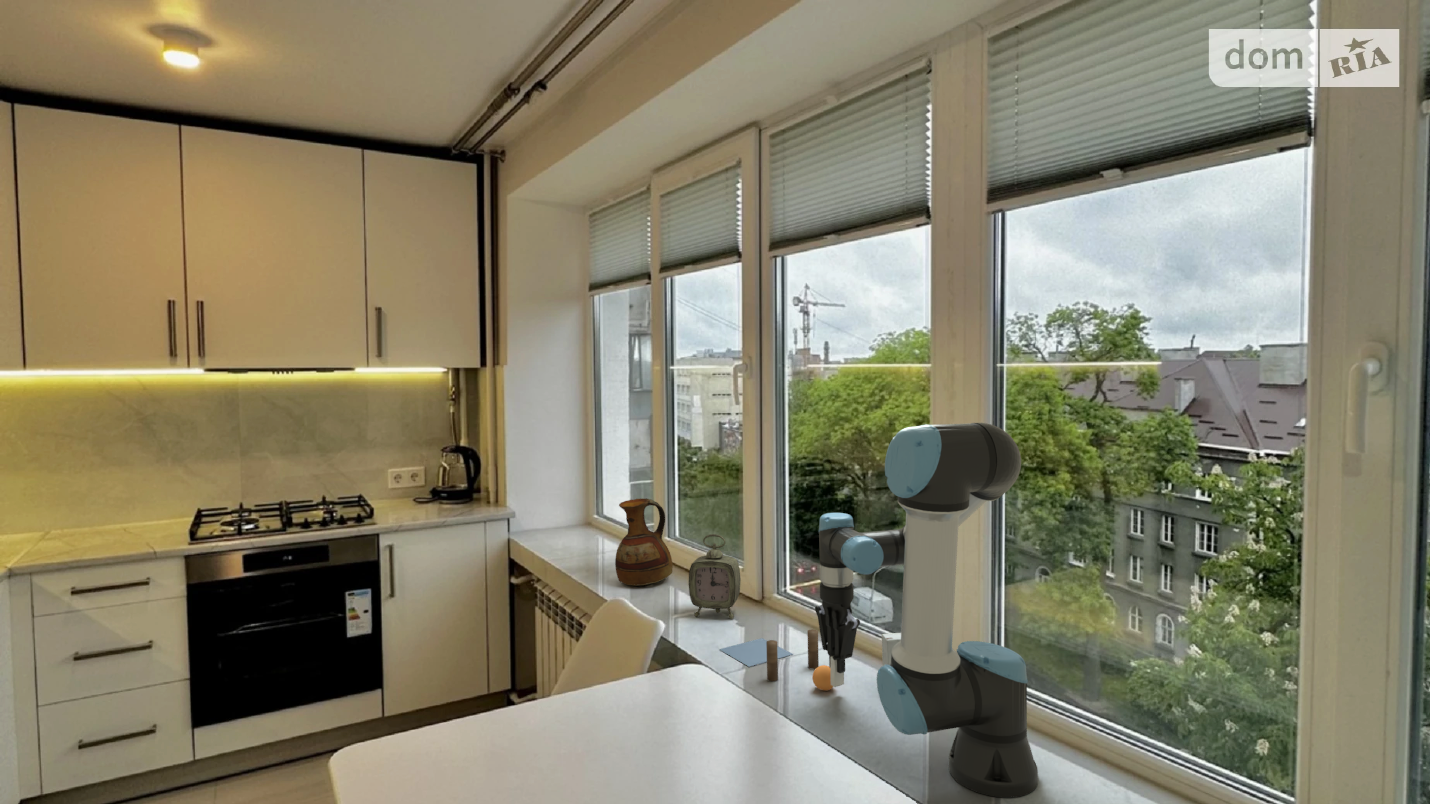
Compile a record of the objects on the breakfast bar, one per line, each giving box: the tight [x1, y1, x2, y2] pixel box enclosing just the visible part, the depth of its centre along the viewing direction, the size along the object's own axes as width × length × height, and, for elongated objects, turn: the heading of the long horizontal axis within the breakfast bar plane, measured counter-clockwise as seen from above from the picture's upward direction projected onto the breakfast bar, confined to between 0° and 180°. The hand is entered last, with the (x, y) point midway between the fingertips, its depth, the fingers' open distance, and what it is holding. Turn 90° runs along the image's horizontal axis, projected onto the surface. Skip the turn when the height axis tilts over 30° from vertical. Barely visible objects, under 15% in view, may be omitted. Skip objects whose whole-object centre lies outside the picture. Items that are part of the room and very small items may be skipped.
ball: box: [812, 664, 835, 692], centre depth 170 cm, size 6×6×6 cm
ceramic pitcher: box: [614, 498, 673, 586], centre depth 260 cm, size 20×20×30 cm
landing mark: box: [718, 637, 794, 668], centre depth 193 cm, size 14×14×1 cm
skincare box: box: [881, 632, 901, 666], centre depth 170 cm, size 6×4×12 cm
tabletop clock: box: [688, 533, 742, 620], centre depth 223 cm, size 14×9×25 cm, turn 76°
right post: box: [807, 628, 820, 670], centre depth 183 cm, size 3×3×9 cm
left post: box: [766, 639, 779, 682], centre depth 176 cm, size 3×3×9 cm
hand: (837, 684), depth 166 cm, fingers closed
